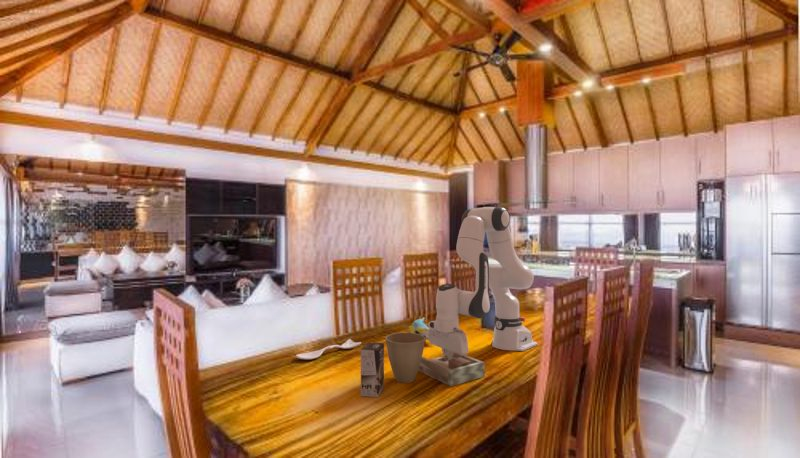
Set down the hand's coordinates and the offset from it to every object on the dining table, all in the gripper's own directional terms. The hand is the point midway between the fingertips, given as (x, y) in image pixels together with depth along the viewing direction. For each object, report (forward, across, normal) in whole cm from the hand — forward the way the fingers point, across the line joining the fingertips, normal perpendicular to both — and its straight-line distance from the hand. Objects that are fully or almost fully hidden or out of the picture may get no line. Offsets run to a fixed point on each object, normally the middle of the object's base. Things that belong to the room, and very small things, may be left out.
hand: (448, 360), depth 164 cm
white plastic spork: (+5, +50, +29) cm, 58 cm away
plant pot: (+4, +3, +18) cm, 19 cm away
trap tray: (+5, -1, 0) cm, 5 cm away
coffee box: (+4, 0, +34) cm, 35 cm away
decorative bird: (+5, +44, -24) cm, 50 cm away
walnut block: (+2, -8, +1) cm, 8 cm away
